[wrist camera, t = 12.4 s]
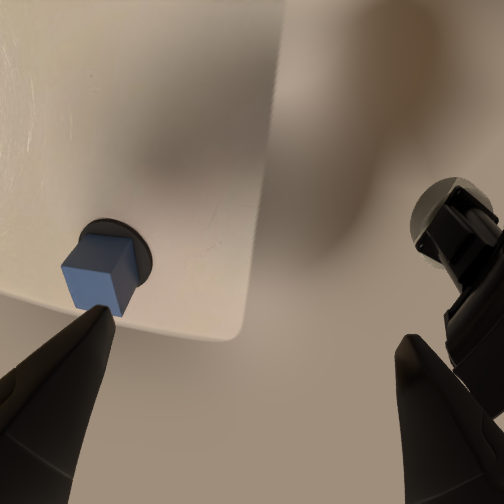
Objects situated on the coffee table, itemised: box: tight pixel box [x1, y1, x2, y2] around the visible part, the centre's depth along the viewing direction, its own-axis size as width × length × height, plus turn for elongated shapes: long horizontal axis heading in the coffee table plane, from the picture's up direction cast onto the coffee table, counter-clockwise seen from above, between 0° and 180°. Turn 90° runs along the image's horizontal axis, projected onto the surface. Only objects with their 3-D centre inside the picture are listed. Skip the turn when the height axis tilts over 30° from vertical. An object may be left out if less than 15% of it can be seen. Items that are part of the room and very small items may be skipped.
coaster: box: [78, 219, 152, 287], centre depth 22 cm, size 6×6×1 cm
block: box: [61, 234, 139, 317], centre depth 20 cm, size 4×4×4 cm
